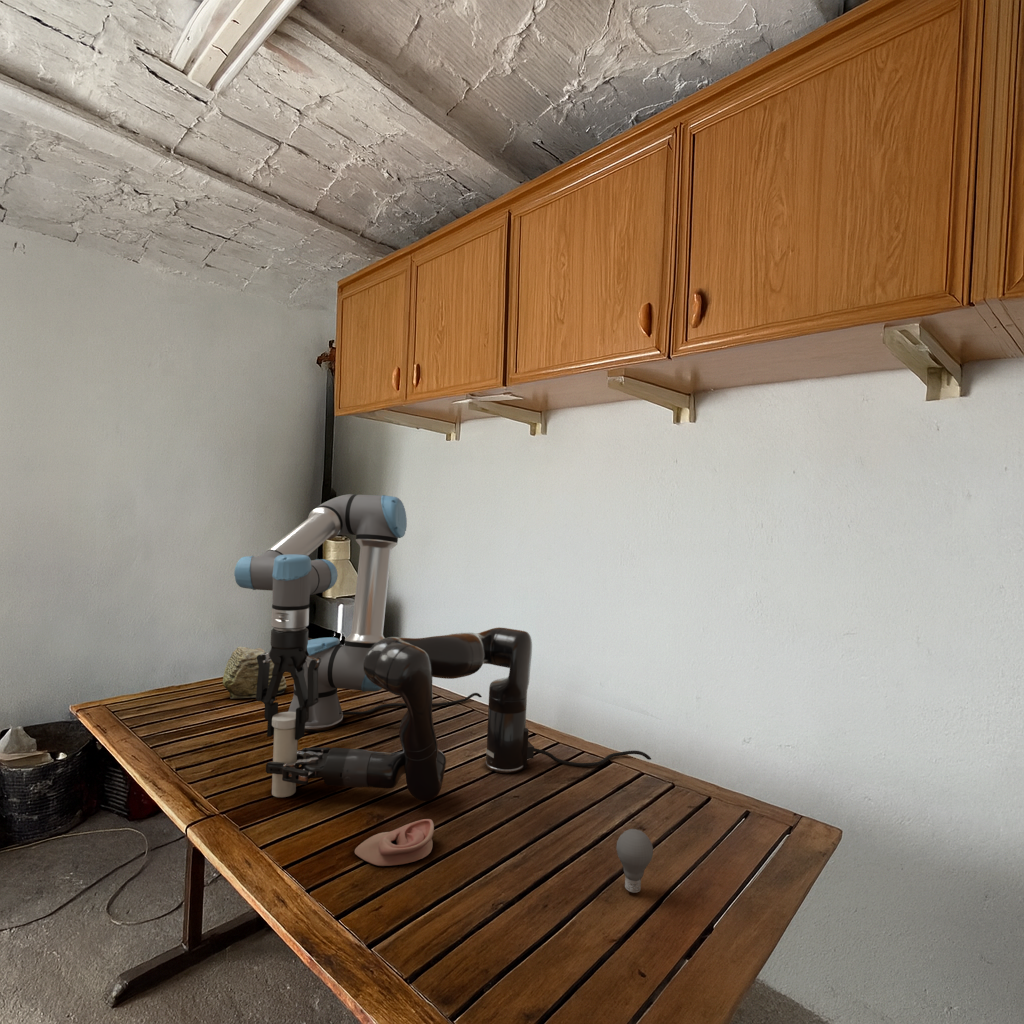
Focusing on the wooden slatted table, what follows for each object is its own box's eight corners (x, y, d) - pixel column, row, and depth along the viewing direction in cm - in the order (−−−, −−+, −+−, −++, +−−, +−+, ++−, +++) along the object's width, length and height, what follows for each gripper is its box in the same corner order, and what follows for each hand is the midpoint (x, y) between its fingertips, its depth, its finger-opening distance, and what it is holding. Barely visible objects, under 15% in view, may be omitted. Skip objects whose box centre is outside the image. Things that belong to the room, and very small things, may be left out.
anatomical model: (347, 838, 110) (374, 807, 122) (346, 860, 111) (373, 828, 122) (419, 850, 108) (440, 817, 119) (418, 873, 108) (439, 838, 119)
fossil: (218, 695, 195) (220, 647, 195) (278, 685, 208) (279, 640, 207) (228, 703, 189) (230, 653, 188) (289, 692, 201) (290, 645, 201)
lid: (275, 730, 131) (275, 722, 131) (268, 721, 136) (269, 713, 136) (304, 726, 134) (304, 718, 134) (296, 717, 139) (296, 709, 139)
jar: (267, 791, 135) (269, 718, 135) (288, 784, 139) (291, 713, 138) (278, 799, 132) (281, 725, 131) (300, 792, 135) (303, 719, 135)
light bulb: (610, 879, 108) (613, 822, 108) (644, 879, 109) (647, 822, 109) (619, 902, 102) (622, 840, 102) (655, 901, 103) (658, 840, 103)
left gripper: (239, 627, 132) (235, 737, 133) (322, 634, 129) (318, 747, 130) (259, 621, 140) (255, 725, 140) (338, 627, 137) (334, 734, 137)
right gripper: (361, 737, 141) (287, 732, 142) (339, 764, 127) (257, 758, 128) (360, 770, 141) (286, 765, 142) (338, 801, 127) (256, 794, 128)
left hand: (285, 735), depth 135 cm, fingers closed on lid, 6 cm apart
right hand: (272, 762), depth 135 cm, fingers closed on jar, 5 cm apart
